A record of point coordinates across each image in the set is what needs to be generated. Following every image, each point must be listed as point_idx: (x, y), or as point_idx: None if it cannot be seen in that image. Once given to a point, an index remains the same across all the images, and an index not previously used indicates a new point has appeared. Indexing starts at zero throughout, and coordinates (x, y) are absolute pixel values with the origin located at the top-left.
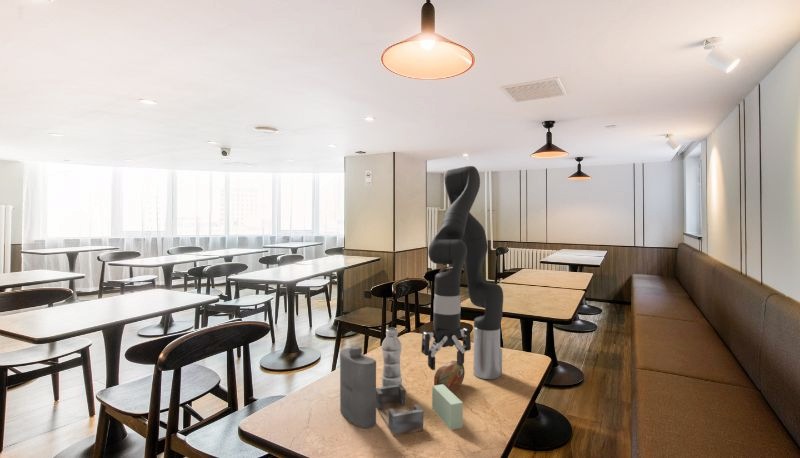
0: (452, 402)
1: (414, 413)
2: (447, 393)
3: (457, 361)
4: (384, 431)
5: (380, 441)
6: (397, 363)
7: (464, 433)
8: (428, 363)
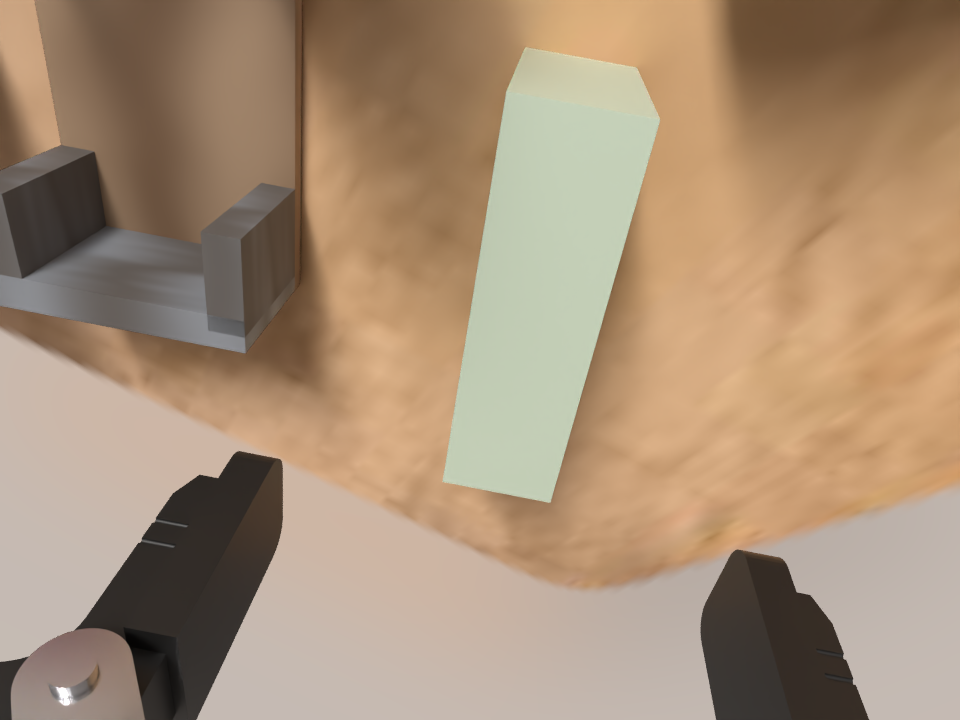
0: (474, 464)
1: (173, 334)
2: (541, 331)
3: (744, 595)
4: None
5: None
6: None
7: None
8: (161, 528)
